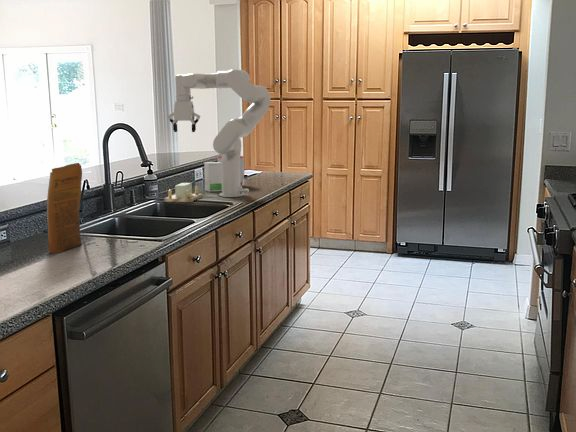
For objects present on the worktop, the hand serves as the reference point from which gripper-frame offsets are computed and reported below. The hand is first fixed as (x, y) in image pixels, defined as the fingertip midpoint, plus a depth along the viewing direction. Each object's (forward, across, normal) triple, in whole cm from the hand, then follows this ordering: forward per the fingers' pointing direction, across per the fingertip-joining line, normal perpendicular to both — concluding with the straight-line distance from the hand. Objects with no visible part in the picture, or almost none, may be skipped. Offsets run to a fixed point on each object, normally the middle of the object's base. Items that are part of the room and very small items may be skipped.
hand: (184, 131), depth 325 cm
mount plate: (+32, -5, +20) cm, 38 cm away
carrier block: (+31, -5, +20) cm, 37 cm away
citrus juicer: (+32, -17, -30) cm, 47 cm away
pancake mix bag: (+32, 0, +126) cm, 130 cm away
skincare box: (+32, -12, -10) cm, 36 cm away
